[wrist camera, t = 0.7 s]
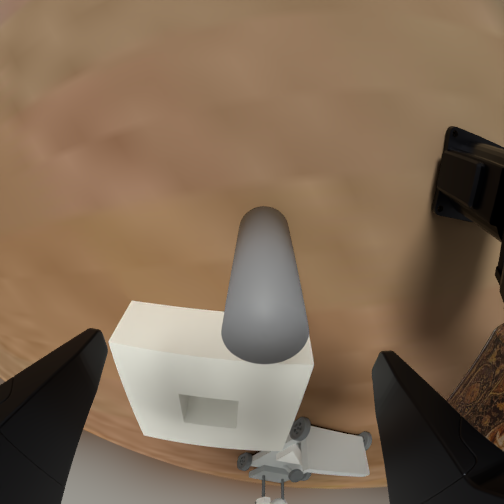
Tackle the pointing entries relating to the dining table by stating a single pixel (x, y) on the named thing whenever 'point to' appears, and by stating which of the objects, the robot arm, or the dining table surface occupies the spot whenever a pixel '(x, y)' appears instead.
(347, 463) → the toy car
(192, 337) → the socket block
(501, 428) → the book
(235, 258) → the peg
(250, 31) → the dining table surface
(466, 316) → the dining table surface
